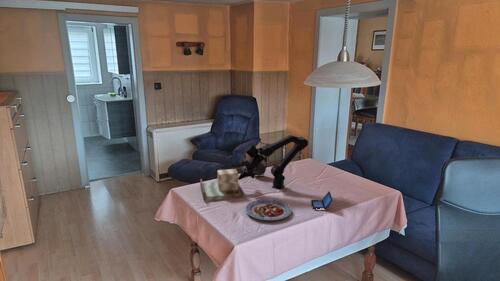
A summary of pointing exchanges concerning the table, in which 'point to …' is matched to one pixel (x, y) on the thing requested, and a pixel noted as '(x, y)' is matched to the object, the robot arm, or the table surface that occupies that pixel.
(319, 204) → the handheld game console
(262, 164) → the alarm clock
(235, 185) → the birch block
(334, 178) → the table surface
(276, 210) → the ceramic plate
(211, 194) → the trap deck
